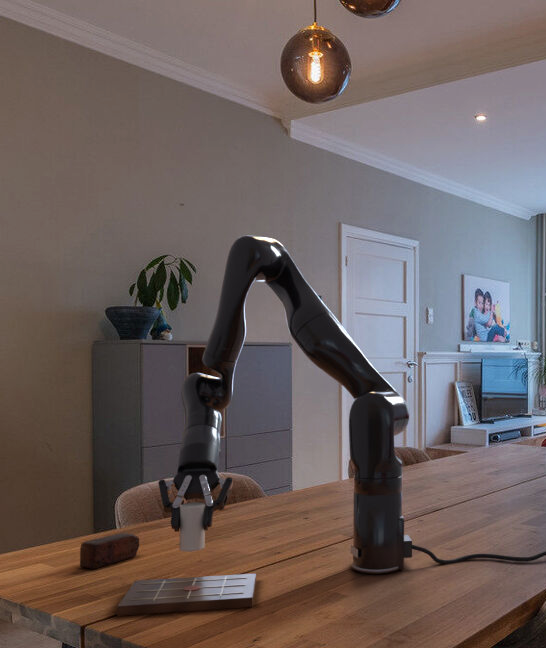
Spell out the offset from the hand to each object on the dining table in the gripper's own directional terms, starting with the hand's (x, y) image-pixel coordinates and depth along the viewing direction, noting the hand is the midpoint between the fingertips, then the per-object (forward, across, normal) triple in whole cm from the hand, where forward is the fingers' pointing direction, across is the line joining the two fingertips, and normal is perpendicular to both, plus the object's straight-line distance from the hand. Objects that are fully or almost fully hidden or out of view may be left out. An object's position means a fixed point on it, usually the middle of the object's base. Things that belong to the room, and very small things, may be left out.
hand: (191, 528), depth 132 cm
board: (+15, +2, -3) cm, 16 cm away
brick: (-2, -16, +14) cm, 22 cm away
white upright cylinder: (+2, 0, +4) cm, 5 cm away
